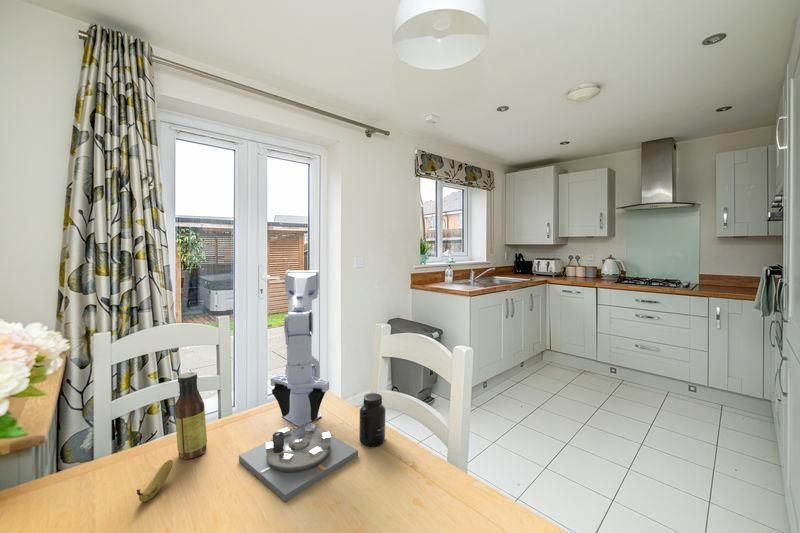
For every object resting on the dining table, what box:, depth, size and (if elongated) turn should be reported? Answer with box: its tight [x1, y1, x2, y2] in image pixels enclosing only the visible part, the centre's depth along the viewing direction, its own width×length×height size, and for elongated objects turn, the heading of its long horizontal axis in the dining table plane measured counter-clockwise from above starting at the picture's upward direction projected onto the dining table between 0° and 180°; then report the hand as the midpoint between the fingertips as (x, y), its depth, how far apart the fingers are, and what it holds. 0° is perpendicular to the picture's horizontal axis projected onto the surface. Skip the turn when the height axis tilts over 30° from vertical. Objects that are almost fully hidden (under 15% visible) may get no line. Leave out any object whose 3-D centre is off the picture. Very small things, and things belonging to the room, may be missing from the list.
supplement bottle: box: [358, 392, 387, 448], centre depth 91 cm, size 7×7×12 cm
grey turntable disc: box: [266, 423, 331, 472], centre depth 84 cm, size 15×15×7 cm
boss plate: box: [238, 422, 359, 503], centre depth 84 cm, size 20×20×2 cm
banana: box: [135, 459, 174, 503], centre depth 72 cm, size 10×2×4 cm, turn 0°
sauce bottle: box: [174, 371, 208, 460], centre depth 85 cm, size 6×6×20 cm
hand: (300, 416), depth 84 cm, fingers open, 7 cm apart
